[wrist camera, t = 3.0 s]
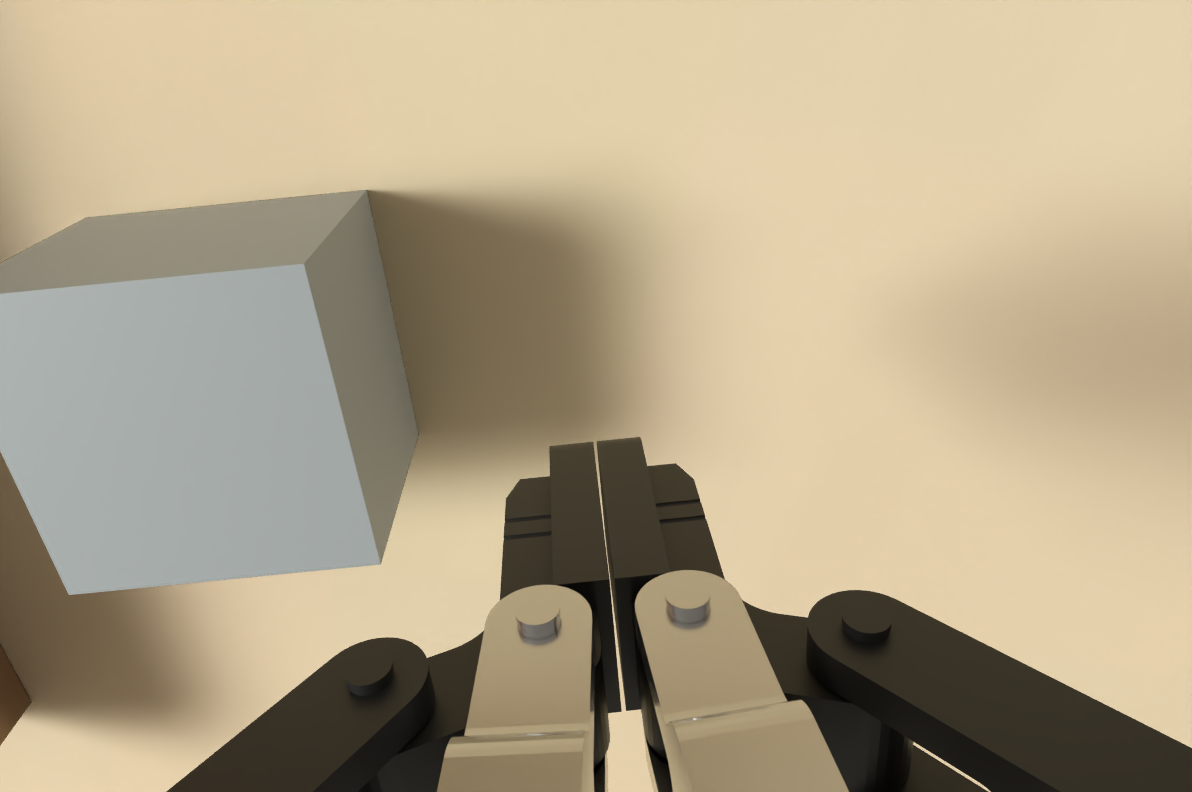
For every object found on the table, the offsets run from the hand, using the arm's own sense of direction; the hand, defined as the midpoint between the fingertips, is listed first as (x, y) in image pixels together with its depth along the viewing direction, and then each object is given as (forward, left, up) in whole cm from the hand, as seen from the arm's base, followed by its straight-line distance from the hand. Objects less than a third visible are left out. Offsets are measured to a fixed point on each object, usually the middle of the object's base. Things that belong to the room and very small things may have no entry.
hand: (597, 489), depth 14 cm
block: (+9, 0, -10) cm, 13 cm away
